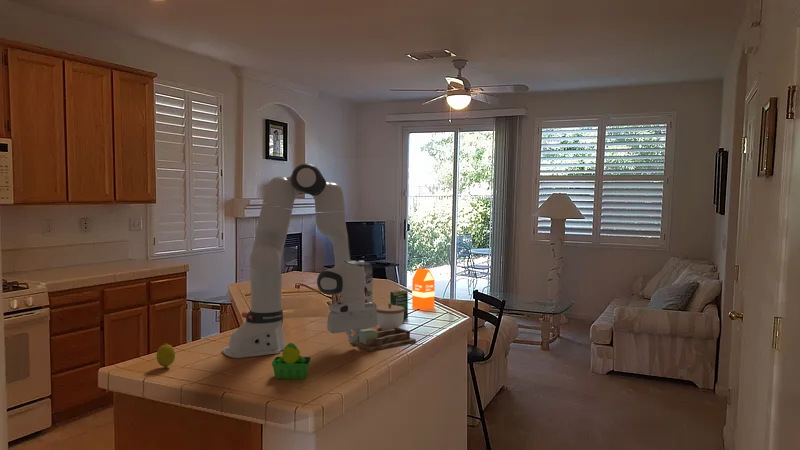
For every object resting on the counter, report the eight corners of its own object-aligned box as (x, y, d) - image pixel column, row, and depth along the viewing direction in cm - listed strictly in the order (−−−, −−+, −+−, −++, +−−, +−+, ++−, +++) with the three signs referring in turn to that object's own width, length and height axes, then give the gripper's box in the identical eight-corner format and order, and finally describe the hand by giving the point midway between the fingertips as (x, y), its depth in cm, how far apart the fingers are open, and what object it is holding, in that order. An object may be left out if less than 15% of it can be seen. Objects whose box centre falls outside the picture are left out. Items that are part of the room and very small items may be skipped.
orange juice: (423, 305, 287) (423, 267, 286) (434, 307, 280) (435, 269, 279) (411, 307, 282) (412, 268, 281) (423, 309, 275) (423, 270, 274)
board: (370, 351, 198) (370, 340, 198) (350, 343, 209) (350, 332, 209) (415, 342, 211) (415, 332, 211) (394, 335, 222) (394, 325, 222)
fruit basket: (311, 372, 174) (311, 337, 173) (307, 381, 165) (307, 344, 165) (275, 372, 174) (275, 337, 173) (270, 381, 165) (269, 344, 164)
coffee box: (392, 320, 249) (392, 292, 249) (389, 319, 252) (390, 291, 251) (408, 318, 253) (408, 290, 252) (405, 317, 256) (405, 289, 255)
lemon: (169, 364, 181) (169, 340, 181) (178, 367, 178) (178, 343, 177) (153, 368, 177) (153, 343, 176) (161, 371, 173) (161, 346, 173)
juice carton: (347, 316, 258) (347, 259, 256) (368, 315, 261) (369, 259, 260) (351, 320, 249) (351, 261, 248) (373, 319, 252) (373, 261, 251)
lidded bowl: (385, 324, 242) (385, 299, 241) (409, 327, 235) (409, 302, 235) (369, 329, 231) (369, 304, 230) (394, 333, 224) (394, 307, 224)
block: (366, 344, 202) (366, 332, 202) (359, 341, 206) (359, 330, 206) (377, 342, 205) (377, 331, 205) (370, 340, 209) (370, 328, 209)
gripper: (371, 300, 210) (371, 335, 210) (325, 306, 197) (325, 344, 198) (381, 302, 205) (381, 339, 205) (333, 309, 192) (333, 347, 193)
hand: (353, 341), depth 202 cm, fingers closed
